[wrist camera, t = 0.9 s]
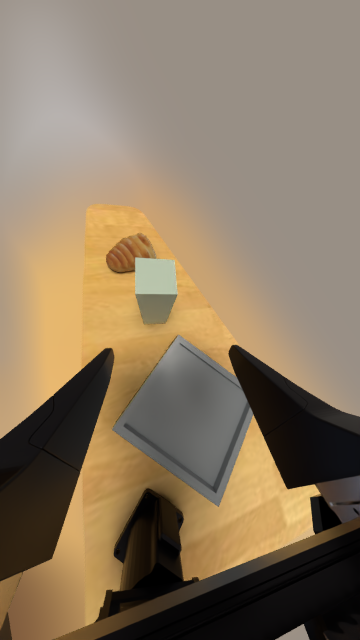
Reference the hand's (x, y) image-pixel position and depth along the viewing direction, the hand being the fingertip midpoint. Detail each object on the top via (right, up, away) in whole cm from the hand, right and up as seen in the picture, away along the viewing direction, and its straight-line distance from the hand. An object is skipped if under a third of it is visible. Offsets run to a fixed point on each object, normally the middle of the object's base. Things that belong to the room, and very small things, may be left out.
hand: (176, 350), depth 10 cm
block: (-5, +3, +15) cm, 16 cm away
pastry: (-9, +15, +18) cm, 25 cm away
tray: (+2, -12, +12) cm, 17 cm away
